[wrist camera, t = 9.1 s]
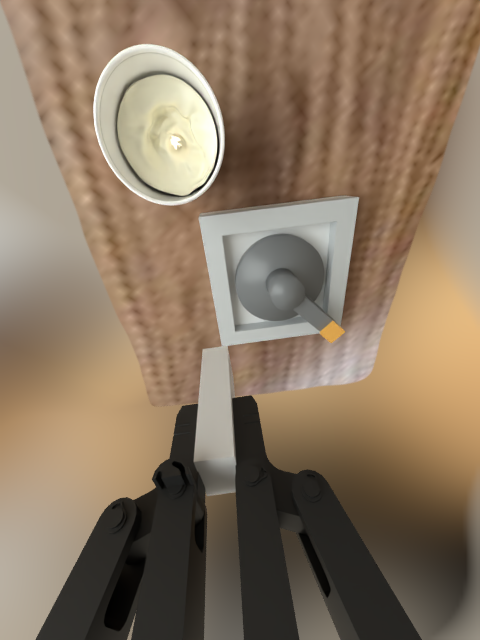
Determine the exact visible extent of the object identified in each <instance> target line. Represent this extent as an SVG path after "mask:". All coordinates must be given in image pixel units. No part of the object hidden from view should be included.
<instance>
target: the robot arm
mask: <svg viewBox="0 0 480 640" xmlns="http://www.w3.org/2000/svg"><path fill="white" fill-rule="evenodd" d="M152 480H153V482H154V483H155V485H156V488H155V489H153V490H152V491H150V492H149V493H147V494H145V495H143V496H141V497H139V498H137V499H135V500H132V499H130V498H127V497H126V498H120V499H118V500H116V501H114V502H112V503H111V504H110V505H109V506H108V507H107V508H106V509H105V510H104V512H103V513H102V515H101V516H100V518H99V520H98V522H97V524H96V526H95V527H94V530H93V531H92V533H91V535H90V537H89V539H88V541H87V543H86V545H85V547H84V548H83V550H82V552H81V554H80V556H79V558H78V560H77V562H76V564H75V566H74V567H73V570H72V571H71V573H70V575H69V577H68V579H67V581H66V583H65V585H64V586H63V588H62V590H61V592H60V594H59V596H58V598H57V600H56V602H55V604H54V606H53V607H52V609H51V611H50V613H49V615H48V617H47V619H46V621H45V623H44V625H43V626H42V628H41V630H40V632H39V634H38V636H37V638H36V640H127V637H128V634H129V632H130V628H131V625H132V622H133V619H134V616H135V613H136V616H135V622H134V627H133V633H132V639H131V640H204V614H205V613H204V611H205V576H206V575H205V574H206V537H207V509H206V506H205V491H206V494H207V496H211V495H217V494H224V493H231V492H236V504H237V524H238V541H239V559H240V576H241V592H242V593H241V594H242V611H243V629H244V640H299V635H298V629H297V624H296V618H295V612H294V607H293V601H292V596H291V590H290V584H289V578H288V573H287V567H286V561H285V556H284V550H283V545H282V539H281V533H280V528H283V529H286V530H290V531H294V532H296V534H297V537H298V539H299V541H300V544H301V546H302V549H303V551H304V553H305V556H306V558H307V561H308V563H309V565H310V568H311V570H312V572H313V575H314V577H315V580H316V582H317V584H318V587H319V589H320V592H321V594H322V596H323V599H324V601H325V603H326V606H327V608H328V611H329V613H330V615H331V618H332V620H333V623H334V625H335V627H336V630H337V632H338V635H339V637H340V639H341V640H422V639H421V638H420V636H419V634H418V633H417V631H416V629H415V628H414V626H413V624H412V623H411V621H410V619H409V618H408V616H407V614H406V613H405V611H404V609H403V607H402V606H401V604H400V602H399V601H398V599H397V597H396V596H395V594H394V592H393V591H392V589H391V588H390V586H389V584H388V583H387V581H386V579H385V578H384V576H383V574H382V572H381V571H380V569H379V568H378V566H377V564H376V563H375V561H374V559H373V557H372V556H371V554H370V553H369V551H368V549H367V547H366V546H365V544H364V542H363V541H362V539H361V537H360V536H359V534H358V533H357V531H356V529H355V527H354V526H353V524H352V522H351V521H350V519H349V517H348V516H347V514H346V512H345V511H344V509H343V507H342V506H341V504H340V502H339V501H338V499H337V497H336V496H335V494H334V492H333V490H332V489H331V487H330V486H329V484H328V482H327V481H326V480H325V479H324V477H323V476H322V475H320V474H319V473H317V472H316V471H312V470H303V471H300V472H299V473H298V474H294V473H289V472H284V471H282V470H279V469H277V468H276V467H274V466H273V465H272V464H271V463H270V462H269V460H268V458H267V455H266V452H265V446H264V441H263V435H262V429H261V424H260V418H259V412H258V407H257V403H256V402H255V400H254V398H253V397H252V396H244V397H237V398H235V394H234V382H233V374H232V368H231V363H230V357H229V352H228V346H223V347H216V348H209V349H203V353H202V366H201V378H200V390H199V402H198V404H192V405H185V406H182V408H181V410H180V411H179V413H178V414H177V418H176V424H175V430H174V436H173V441H172V448H171V453H170V459H168V460H166V461H164V462H163V463H162V464H160V466H159V467H158V468H157V469H156V471H155V473H154V475H153V478H152ZM136 610H137V611H136Z"/></svg>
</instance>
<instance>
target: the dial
mask: <svg viewBox="0 0 480 640" xmlns="http://www.w3.org/2000/svg"><path fill="white" fill-rule="evenodd" d="M324 276H325V270H324V264H323V261H322V258H321V256H320V254H319V253H318V251H317V250H316V249H315V248H314V247H313V246H312V245H311V244H310V243H308V242H307V241H305V240H304V239H302V238H300V237H298V236H295V235H291V234H273V235H269V236H266V237H264V238H262V239H260V240H258V241H256V242H255V243H254V244H252V245H251V246H250V247H249V248H248V249H247V250H246V251H245V253H244V254H243V255H242V257H241V259H240V261H239V263H238V265H237V269H236V274H235V284H236V290H237V295H238V298H239V300H240V302H241V304H242V305H243V307H244V308H245V309H246V310H247V311H248V312H249V313H251V314H252V315H254V316H256V317H258V318H260V319H263V320H268V321H282V320H287V319H290V318H293V317H295V316H297V315H300V316H301V317H303V318H304V319H305V320H306V321H307V322H309V323H310V324H311V325H312V326H314V327H315V328H316V329H317V330H318V331H320V334H321V335H322V336H323V337H324V338H325V339H327V340H328V341H329V342H330V343H332V342H333V341H335V340H336V339H337V338H338V337H340V336H341V335H342V334H343V333H344V332H345V331H344V330H343V329H342V328H341V327H340V326H339V325H338V324H337V323H336V321H335V320H334V319H333V318H332V317H331V316H330V315H328V314H327V313H326V312H325V311H324V310H323V309H322V308H321V307H319V306H318V305H317V304H316V303H315V302H314V301H315V300H316V299H317V297H318V295H319V294H320V292H321V289H322V286H323V283H324Z"/></svg>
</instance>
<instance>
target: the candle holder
mask: <svg viewBox="0 0 480 640" xmlns="http://www.w3.org/2000/svg"><path fill="white" fill-rule="evenodd" d="M94 124H95V130H96V134H97V138H98V141H99V144H100V147H101V150H102V152H103V154H104V156H105V158H106V160H107V162H108V164H109V166H110V167H111V169H112V170H113V172H114V173H115V174H116V176H117V177H118V178H119V179H120V180H121V181H122V182H123V183H124V184H125V185H126V186H127V187H128V188H129V189H130V190H131V191H133V192H134V193H136V194H137V195H139V196H140V197H142V198H144V199H146V200H148V201H151V202H153V203H157V204H161V205H181V204H185V203H188V202H191V201H193V200H195V199H196V198H198V197H199V196H201V195H202V194H203V193H204V192H205V191H206V190H207V189H208V188H209V187H210V186H211V185H212V183H213V182H214V180H215V178H216V176H217V174H218V172H219V170H220V167H221V164H222V160H223V156H224V148H225V130H224V123H223V118H222V113H221V110H220V107H219V104H218V101H217V99H216V96H215V94H214V92H213V90H212V88H211V87H210V85H209V83H208V82H207V80H206V79H205V77H204V76H203V75H202V73H201V72H200V71H199V70H198V69H197V68H196V67H195V66H194V65H193V64H192V63H191V62H190V61H189V60H188V59H186V58H185V57H184V56H182V55H181V54H179V53H177V52H176V51H174V50H171V49H169V48H167V47H164V46H160V45H154V44H140V45H135V46H132V47H129V48H127V49H125V50H123V51H121V52H120V53H118V54H117V55H116V56H115V57H114V58H113V59H112V60H111V61H110V62H109V63H108V64H107V66H106V67H105V69H104V70H103V72H102V74H101V76H100V78H99V81H98V84H97V87H96V91H95V97H94Z"/></svg>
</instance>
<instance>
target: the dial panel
mask: <svg viewBox="0 0 480 640" xmlns="http://www.w3.org/2000/svg"><path fill="white" fill-rule="evenodd" d="M358 201H359V197H353V196H345V195H343V196H335V197H327V198H319V199H311V200H303V201H295V202H287V203H279V204H271V205H263V206H255V207H247V208H239V209H231V210H223V211H215V212H207V213H200V215H199V222H200V227H201V233H202V238H203V244H204V249H205V255H206V260H207V266H208V271H209V277H210V282H211V288H212V294H213V299H214V305H215V310H216V316H217V321H218V327H219V332H220V338H221V343H222V346H229V345H236V344H244V343H251V342H258V341H266V340H273V339H280V338H288V337H295V336H302V335H310V334H317V333H320V331H318V330H317V329H316V328H315V327H314V326H312V325H311V324H310V323H309V322H307V321H306V320H305V319H304V318H303V317H301V316H300V315H297V316H295V317H293V318H290V319H287V320H282V321H268V320H263V319H260V318H258V317H256V316H254V315H252V314H251V313H249V312H248V311H247V310H246V309H245V308H244V307H243V305H242V304H241V302H240V300H239V298H238V295H237V290H236V284H235V274H236V269H237V265H238V263H239V261H240V259H241V257H242V255H243V254H244V253H245V251H246V250H247V249H248V248H249V247H250V246H251V245H252V244H254V243H255V242H256V241H258V240H260V239H262V238H264V237H266V236H269V235H273V234H291V235H295V236H298V237H300V238H302V239H304V240H305V241H307V242H308V243H310V244H311V245H312V246H313V247H314V248H315V249H316V250H317V251H318V253H319V254H320V256H321V258H322V261H323V264H324V270H325V276H324V283H323V286H322V289H321V292H320V294H319V295H318V297H317V299H316V300H315V301H314V302H315V303H316V304H317V305H318V306H319V307H321V308H322V309H323V310H324V311H325V312H326V313H327V314H328V315H330V316H331V317H332V318H333V319H334V320H335V321H336V323H337V324H338V325H339V326H340V327H341V320H342V313H343V306H344V299H345V292H346V285H347V278H348V271H349V264H350V257H351V250H352V243H353V236H354V229H355V222H356V215H357V208H358Z"/></svg>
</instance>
